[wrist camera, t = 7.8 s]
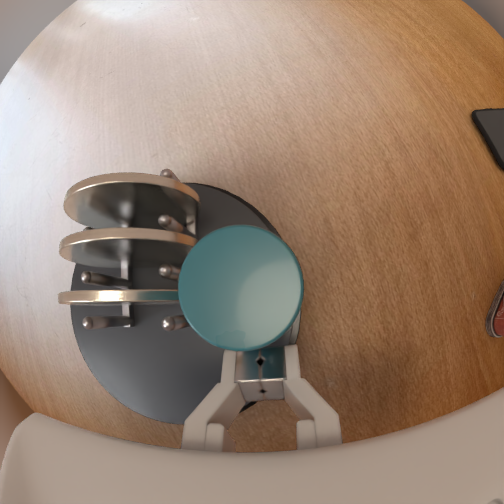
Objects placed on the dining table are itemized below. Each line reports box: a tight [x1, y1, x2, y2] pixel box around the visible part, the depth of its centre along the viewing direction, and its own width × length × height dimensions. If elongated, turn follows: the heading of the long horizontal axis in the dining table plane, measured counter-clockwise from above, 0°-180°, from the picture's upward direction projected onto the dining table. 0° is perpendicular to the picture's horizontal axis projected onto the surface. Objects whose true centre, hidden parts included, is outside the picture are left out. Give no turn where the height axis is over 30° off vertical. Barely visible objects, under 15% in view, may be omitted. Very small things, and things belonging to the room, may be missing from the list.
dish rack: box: [58, 169, 304, 424], centre depth 12 cm, size 17×17×13 cm
